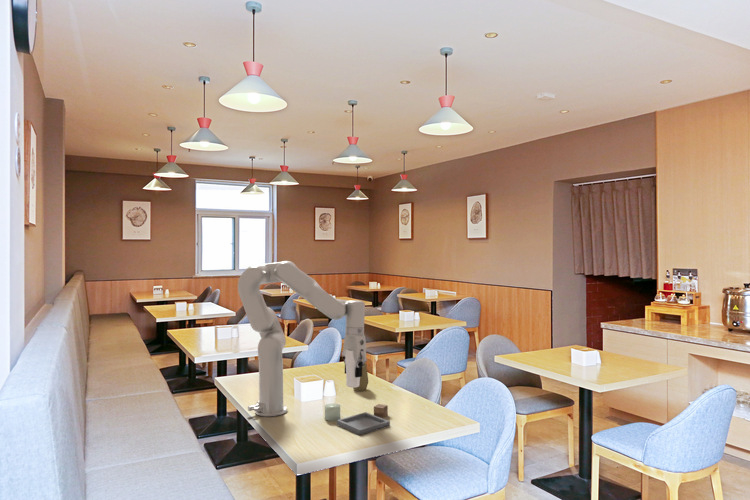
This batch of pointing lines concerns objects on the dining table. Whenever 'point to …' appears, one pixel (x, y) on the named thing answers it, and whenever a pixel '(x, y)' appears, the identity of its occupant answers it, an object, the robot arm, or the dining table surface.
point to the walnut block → (381, 410)
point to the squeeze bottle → (363, 379)
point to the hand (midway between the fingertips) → (353, 374)
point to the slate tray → (363, 423)
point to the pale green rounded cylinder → (332, 412)
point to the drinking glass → (351, 370)
